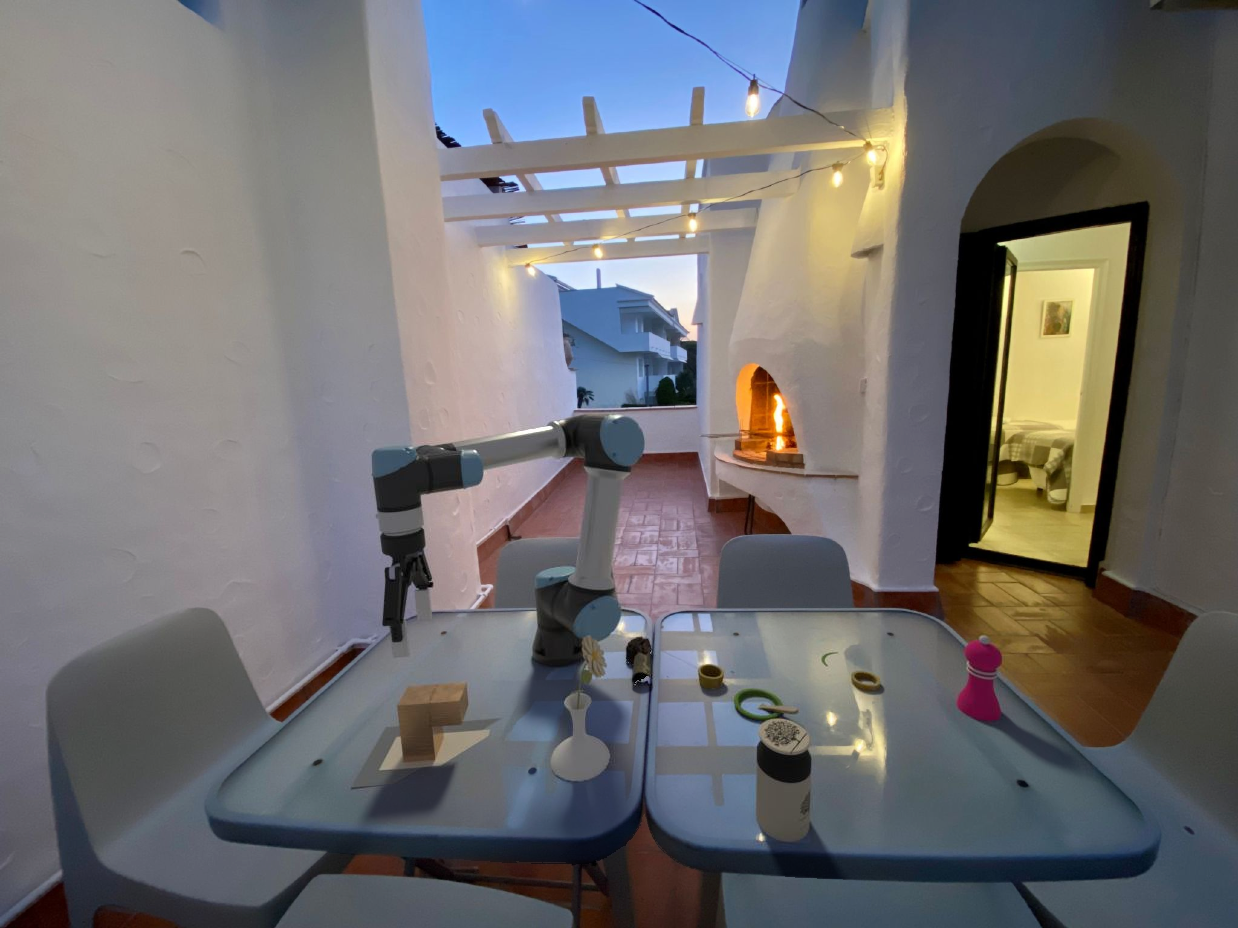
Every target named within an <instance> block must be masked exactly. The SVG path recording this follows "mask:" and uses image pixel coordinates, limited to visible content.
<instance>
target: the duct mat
mask: <svg viewBox="0 0 1238 928" xmlns="http://www.w3.org/2000/svg"><path fill="white" fill-rule="evenodd" d="M501 719H502V717H500V718H499V717H498V718H497V717H496V718H487V719H475V720H463V722H462V725H452V726H443V733H444V739H443V742H442V744H441V747H440V749H439V752H438V755H437V757H436V760H427V761H416V762H404V763H403V754H402V745H401V736H400V727H399V725H396V726H386V727H385V728H384V729H383V731H382V733H381V735H379V736H380V737H379V738H378V740H377V742H376V743H375V745H374V747H373V748H372V750H371V752H370V754H369V755H368V757H367V759H366V761H365V763H364V764H363V766H362V768H361V770H360V771H359V773H358V775H357V776H356V778H355V780H354V782H353V784H352V785H351V787H350V789H360V788H368V787H369V788H370V787H378V786H386V785H394V784H396V783H398V782H399V781H401V780H402V779H404V778H406V777H408V776H409V775H411V774H412V773H415V772H416V771H418V770H419V769H420V768H428V767H437V766H442V765H444V764H445V763H448V761H450V760H452V759H454V758H455V757H457V756H458V755H460V754H461V753H463V752H464V751H467V750H468V749H469V748H471V747H473V746H474V745H476V744H477V743H479V742H481V741H482V740H484V739H485V738H487V737H489V735H490V731H491V729H486V728H488V727H489V726H491V725H493V724H496V723H497V722H498V721H500V720H501Z"/></svg>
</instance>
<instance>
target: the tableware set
mask: <svg viewBox="0 0 1238 928" xmlns="http://www.w3.org/2000/svg"><path fill="white" fill-rule="evenodd" d="M833 654H839V652H837V651H835V652H833V651H832V652H828V653H825V654H823V655H822V657H821V663H822V664H823V665H824V666H826V667H829V665H828V664H827V663H826V658H827V657H828V656H830V655H833ZM697 674H698V675H697V676H698V681H699V684H700V685H701V687H702V688H705V689H709V690H715V689H719V688H721V687H722V685H723V683H724V678H725V677H724V676H725V670H724V669H723V668H722V667H720V666H719V665H716V664H712V663H707V664H705V663H704V664H703V665H701V666H699V668H698V669H697ZM850 679H851V684H852V686H854V687H855V688H857V689H859V690H861V691H867V692H875V691H878V690H879V689H880V687H881V683H882V681H881V679H880V678H879V676H877V675H876V674H873V673H872V672H869V671H865V670H856V671H853V672H852V673H851V674H850ZM860 680H868V681H871V682H872V684H867V683H863V682H861V681H860ZM751 697H761V698H765V699H767V700H769V701H771V702H772V703H773V704H774V705H773V704H772V705H767V704H764V703H763V702H762V703H761V704H760V705H759V706H758V707H757V710H762V711H767V712H768V711H769V712H770V711H771V712H773V713H771V714H768V715H758V714H755V713H751V712H749V711H746V710H745V709H743V707H742V702H743V701H744V700H745V699H747V698H751ZM733 704H734V706H735V708H736V709H737V711H738V712H739V713H740V715H741V714H742V715H743V716H744V717H746V718H748V719H752V720H755V721H764V722H765V721H767V720H770V719H777V718H778V717H779V716H780V715H781V714H787V715H796V714H798V713H799V709H798V708H797V707H795V706H785V705H783V702H782V701H781V699H780V698H779V697H778V696H777V695H775V694H774V693H773V692H771V691H769V690H765V689H762V688H754V687H753V688H745V689H742V690H740V691H738V692H736V694H735V695H734V698H733Z"/></svg>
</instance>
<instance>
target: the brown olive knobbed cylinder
mask: <svg viewBox="0 0 1238 928" xmlns="http://www.w3.org/2000/svg"><path fill="white" fill-rule="evenodd" d="M625 647H626V648H625V660H626V662H629V663H630V665H631V664H633V665H632V668H633V669H632V674H631V682H632V685H634V684H636V683H635V682H636V681H637V680H639V681H641V679H644V678H645V677H646V676H649V677H650V678H651V674H652V663H651V655H650V652H651V650H652V651H653V649H652V644H651V641H650V639H649V638H648V637H646V638H643V637H642V636H636V637H634V638H632V639H631V640H630V641H628V642H627V645H626V646H625ZM629 663H628V664H629Z"/></svg>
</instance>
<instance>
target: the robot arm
mask: <svg viewBox="0 0 1238 928" xmlns="http://www.w3.org/2000/svg"><path fill="white" fill-rule="evenodd" d="M645 443H646V442H645V436H644V432H643V430H642V428H641V427H640V425H639V423H638V422H637V421H636V420H635V419H634V418H632V417H630V416H627V415H622V414H619V413H618V414H617V413H616V414H615V413H610V414H609V413H584V414H580V415H575V416H572V417H567V418H564V419H563V418H562V419H559V420H554V421H553V420H552V421H549V422H548V423H547V424H546V426H542V427H537V428H536V427H535V428H531V429H525V430H524V429H523V430H519V431H513V432H505V433H502V434H501V433H499V434H495V435H489V436H483V437H476V438H472V439H464V440H459V441H452V442H448V443H441V444H435V445H430V444H424V445H423V444H422V445H417V446H413V445H390V446H382V447H378V448H376V449H374V450H373V452H372V453H371V472H372V473H371V476H372V479H373V481H372V482H373V488H374V495H375V497H374V498H375V502H376V509H377V510H376V512H377V513H375V519H377V520H378V528H379V532H381V534H380V535H379V538H380V547H381V552H382V554H383V555H384V556H388V557H390V558H391V562H392V563H391V566H385V567H384V594H383V607H382V608H383V609H382V621H381V623H382V624H381V625H382V626H383V627H389V635H390V644H391V651H392V658H394V659H395V658H404V657H405V658H408V657H410V655H411V649H410V642H409V641H410V640H409V635H408V633H409V632H408V623H407V620H406V619H405V612H406V608H407V600H408V599H407V598H408V593H409V587H410V586H412V584H413V586H414V587H415V588H416V589H415V590H414V591H413V592H414V600H415V609H416V610H415V612H416V619H417V622H427V621H430V622H431V621H432V620H433V613H432V602H431V595H430V594H431V593H430V589H433V588H434V581H432V580H433V576H432V574H431V570H430V567H429V564H428V560H427V558H426V554H425V551H424V549H425V547H426V536H425V535H426V534H425V533H426V532H425V529H424V528H423V526H424V524H425V523H424V514H423V505H422V495H423V496H424V495H430V494H436V493H442V492H449V491H458V490H462V489H463V490H466V489H468V488H472V487H476V486H479V485H480V484H481V483H482V481H483V478H484V471H488V470H491V469H492V470H493V469H497V468H503V467H507V466H512V465H517V464H520V463H521V464H522V463H526V462H531V461H535V460H536V461H537V460H541V459H544V458H545V459H546V458H550V457H553V459H556V460H560V459H565V458H577V459H583V467H582V468H584V470H585V472H586V473H587V482H586V483H587V485H586V491H585V492H586V493H585V498H584V499H585V500H584V507H583V512H582V513H583V514H582V518H581V519H582V521H581V527H580V534H579V541H578V548H577V557H576V564H575V565H576V566H569V565H567V566H566V565H565V566H557V567H551V568H547V569H544V570H542V571H540V572H538V573H537V574H536V576H535V578H534V594H535V609H536V622H537V625H536V626H537V628H536V632H535V636H534V639H533V643H532V649H531V651H532V652H531V653H532V659H533V661H535V662H536V663H537V664H538V665H541V666H544V667H550V668H564V667H569V666H572V665H576V664H577V663H579V662H580V660H581V659H582V660H584V659H583V658H584V657H583V651H582V647H583V645H582V641H583V638H584V637H586V636H588V635H590V636H591V638H592V639H593V640H595V639H596V640H597V642H598V643H599V642H601V641H603V640H605V639H607V638H608V637H609V636H610V635H611V634H613V632H615V630H616V629H617V627H619V626H618V625H619V623H620V621H621V617H622V607H621V604H620V603H619V600H618V599H617V598H616V597H615V590H616V583H615V581H614V580H613V578H612V576H611V575H612V568H613V559H614V552H615V545H616V544H615V543H616V537H617V530H618V523H619V515H620V509H621V501H622V495H623V494H622V493H623V488H624V480H625V479H626V478H628V477H629V476H630V475H631V474H632V469H633V468H632V467H633V465H635V464H636V463H637V462H638V461H639V459H641V458H642V456H643V453H644V451H645ZM582 660H581V661H582ZM578 661H579V662H578ZM576 662H577V663H576Z"/></svg>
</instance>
